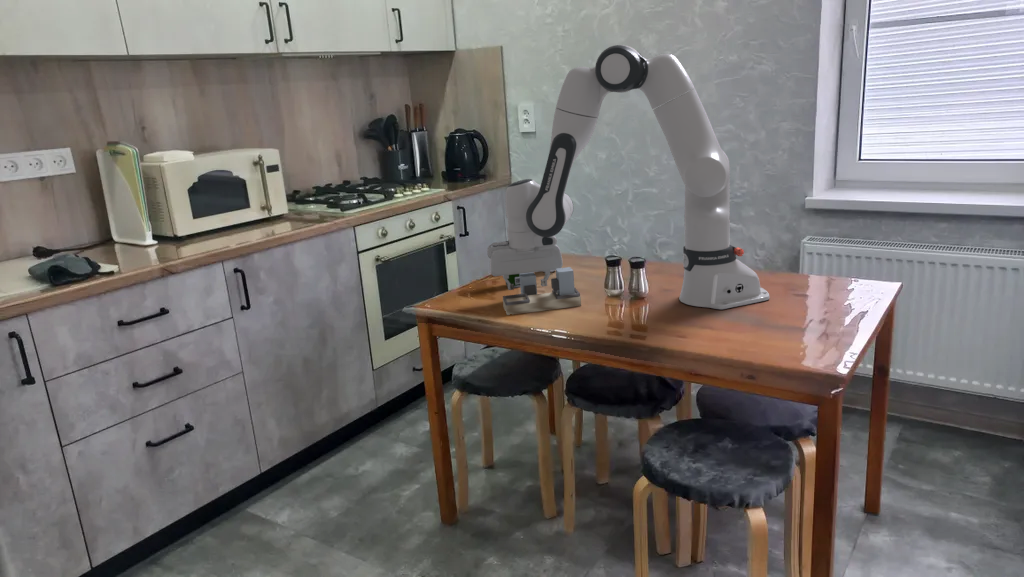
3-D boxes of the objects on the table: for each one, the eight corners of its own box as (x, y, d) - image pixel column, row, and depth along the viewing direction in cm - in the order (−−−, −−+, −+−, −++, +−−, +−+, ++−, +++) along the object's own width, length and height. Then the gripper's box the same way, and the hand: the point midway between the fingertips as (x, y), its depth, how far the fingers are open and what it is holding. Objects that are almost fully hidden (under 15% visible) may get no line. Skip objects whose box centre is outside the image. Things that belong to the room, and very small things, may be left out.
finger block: (538, 301, 194) (536, 277, 192) (524, 303, 193) (522, 278, 191) (535, 295, 199) (533, 272, 197) (521, 297, 199) (519, 273, 197)
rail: (575, 298, 194) (574, 286, 193) (581, 305, 187) (580, 294, 186) (503, 307, 191) (502, 295, 190) (507, 315, 185) (505, 303, 184)
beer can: (527, 285, 210) (524, 246, 207) (513, 289, 207) (510, 249, 204) (516, 282, 214) (512, 243, 211) (502, 286, 211) (498, 247, 208)
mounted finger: (571, 291, 191) (570, 267, 189) (574, 295, 187) (573, 270, 185) (551, 294, 191) (550, 269, 189) (554, 298, 187) (553, 273, 185)
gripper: (487, 245, 188) (492, 294, 192) (562, 237, 190) (565, 286, 194) (485, 240, 194) (489, 288, 198) (557, 233, 196) (560, 280, 200)
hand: (527, 287), depth 196 cm, fingers open, 8 cm apart
